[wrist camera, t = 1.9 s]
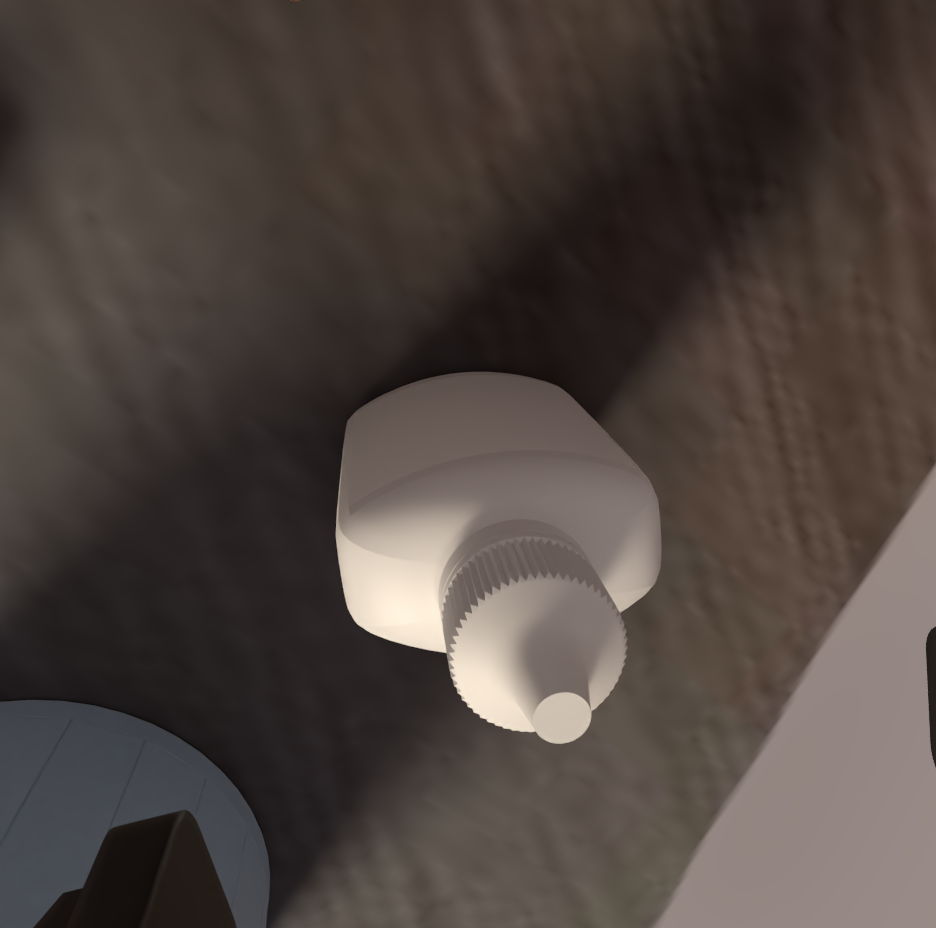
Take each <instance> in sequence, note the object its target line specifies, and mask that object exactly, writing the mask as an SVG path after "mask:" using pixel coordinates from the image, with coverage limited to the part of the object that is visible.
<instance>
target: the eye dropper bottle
mask: <svg viewBox="0 0 936 928" xmlns="http://www.w3.org/2000/svg"><path fill="white" fill-rule="evenodd" d="M336 543H337V552H338V560H339V566H340V573H341V579H342V585H343V590H344V595H345V600H346V604H347V608H348V610H349V612H350V614H351V615H352V617H353V619H354V621H355V622H356V623H357V624H358V625H359V626H361V627H362V628H364V629H365V630H367V631H368V632H370V633H372V634H374V635H377V636H379V637H382V638H385V639H387V640H390V641H394V642H397V643H401V644H404V645H408V646H412V647H416V648H421V649H425V650H431V651H438V652H444V653H447V658H448V664H449V670H450V674H451V678H452V679H453V683H454V686H455V687H456V688H457V693H458V694H460V695H461V697H462V700H463V701H465V702H467V707H470V708H472V709H473V712H474V713H477V714H479V715H480V718H484V719H487V722H491V723H495V726H502V727H503V728H504V729H511V730H512V731H516V730H519V731H520V732H525V731H528V732H535V731H536V732H537V734H538V735H539V736H540V737H541V738H542V739H544V740H546V741H548V742H551V743H558V744H560V743H567V742H571V741H573V740H575V739H577V738H578V737H580V736H581V735H582V734H583V733H584V732H585V731H586V730H587V728H588V726H589V724H590V721H591V711H592V710H594V709H595V708H597V707H598V705H599V704H601V703H602V702H603V701H604V699H605V698H606V697H607V696H608V695H610V691H611V690H612V689H614V688H615V687H614V685H615V684H616V683H617V682H618V680H619V679H618V677H619V676H620V675H621V673H622V670H621V669H622V668H623V666H624V665H625V663H624V660H625V658H626V656H627V655H626V653H625V652H626V650H627V648H628V647H627V645H626V642H627V637H626V635H625V634H626V629H625V627H624V621H623V620H622V618H621V614H620V612H622V611H623V610H625V609H627V608H628V607H629V606H631V605H632V604H633V603H635V602H636V601H637V600H639V599H640V598H642V597H643V596H644V595H645V594H646V593H647V592H648V591H649V590H650V588H651V587H652V586H653V585H654V584H655V582H656V580H657V577H658V574H659V571H660V568H661V525H660V514H659V506H658V499H657V496H656V494H655V491H654V489H653V487H652V485H651V483H650V481H649V479H648V477H647V476H646V475H645V474H644V473H643V472H642V470H641V469H640V468H639V467H638V466H637V465H636V463H635V462H634V461H633V460H632V459H631V458H630V457H629V456H628V455H627V454H626V452H625V451H624V450H623V449H622V448H621V447H620V446H619V445H618V444H617V443H616V442H615V441H614V440H613V439H612V438H611V437H610V436H609V435H608V434H607V433H606V431H605V430H604V429H603V428H602V427H601V426H600V425H599V424H598V423H597V422H596V421H595V420H594V419H593V418H592V417H591V416H590V415H589V414H588V413H587V412H586V411H585V410H584V409H583V408H582V407H581V406H580V405H579V404H578V403H577V402H576V401H575V400H574V399H573V398H572V397H571V396H570V395H569V394H568V393H567V392H566V391H564V390H563V389H562V388H560V387H559V386H557V385H554V384H551V383H549V382H546V381H542V380H538V379H535V378H531V377H526V376H521V375H515V374H508V373H498V372H463V373H453V374H446V375H440V376H436V377H431V378H427V379H424V380H420V381H417V382H414V383H411V384H408V385H405V386H402V387H400V388H397V389H395V390H392V391H390V392H388V393H386V394H384V395H382V396H380V397H378V398H376V399H374V400H372V401H370V402H369V403H367V404H366V405H364V406H363V407H361V408H360V409H358V410H357V411H355V413H354V414H353V415H352V416H351V417H350V419H349V420H348V421H347V425H346V431H345V438H344V446H343V456H342V465H341V474H340V484H339V495H338V505H337V518H336Z"/></svg>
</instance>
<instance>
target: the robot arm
mask: <svg viewBox="0 0 936 928" xmlns="http://www.w3.org/2000/svg"><path fill="white" fill-rule="evenodd" d="M926 654H927V655H926V657H927V677H928V698H929V699H928V700H929V721H930V741H931V751H932V756H933V760H934V763H935V767H936V627H934V628H933V629H931V631H930V632H929V634H928V637H927V642H926ZM33 928H237V926H236V923H235V920H234V917H233V914H232V911H231V909H230V906H229V903H228V901H227V898H226V896H225V893H224V890H223V888H222V885H221V882H220V880H219V877H218V875H217V872H216V869H215V867H214V864H213V862H212V859H211V856H210V854H209V851H208V848H207V846H206V843H205V841H204V838H203V835H202V833H201V830H200V828H199V825H198V823H197V821H196V819H195V817H194V816H193V815H192V814H191V812H189V811H188V810H181V811H177V812H172V813H168V814H164V815H160V816H156V817H152V818H148V819H144V820H140V821H136V822H132V823H128V824H124V825H120V826H116V827H113V828H112V829H110V830H109V831H108V833H107V834H106V836H105V838H104V840H103V842H102V844H101V847H100V849H99V851H98V854H97V856H96V858H95V861H94V863H93V865H92V868H91V870H90V872H89V875H88V877H87V879H86V882H85V884H84V886H83V888H81V889H77V890H73V891H69V892H65V893H62V895H61V896H60V897H59V898H58V899H57V900H56V902H55V903H54V904H53V905H52V906H51V907H50V909H49V910H48V911H47V912H46V913H45V914H44V916H43V917H42V918H41V919H40V920H39V921H38V923H37V924H36V925H35V926H34V927H33Z"/></svg>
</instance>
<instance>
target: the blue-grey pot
mask: <svg viewBox="0 0 936 928" xmlns="http://www.w3.org/2000/svg"><path fill="white" fill-rule="evenodd" d="M181 810H188V811H189V812H191V814H192V815H193V816H194V817H195V819H196V821H197V823H198V825H199V828H200V830H201V833H202V835H203V838H204V841H205V843H206V846H207V848H208V851H209V854H210V856H211V859H212V862H213V864H214V867H215V869H216V872H217V875H218V877H219V880H220V882H221V885H222V888H223V890H224V893H225V896H226V898H227V901H228V903H229V906H230V909H231V911H232V914H233V917H234V920H235V923H236V926H237V928H266V920H267V909H268V902H269V891H270V869H269V860H268V853H267V850H266V846H265V842H264V839H263V835H262V832H261V830H260V828H259V825H258V823H257V821H256V819H255V817H254V814H253V812H252V810H251V809H250V807H249V806H248V804H247V803H246V801H245V799H244V798H243V796H242V795H241V793H240V792H239V790H238V789H237V788H236V787H235V786H234V784H233V783H232V782H231V781H230V780H229V779H228V778H227V776H226V775H225V774H224V773H223V772H222V771H221V770H220V769H219V768H218V767H217V766H216V765H214V764H213V763H212V762H211V761H210V760H209V759H208V758H207V757H205V756H204V755H203V754H202V753H201V752H199V751H198V750H196V749H195V748H193V747H192V746H190V745H189V744H187V743H186V742H184V741H183V740H181V739H180V738H179V737H177V736H175V735H173V734H171V733H169V732H167V731H165V730H163V729H161V728H159V727H157V726H155V725H153V724H151V723H149V722H146V721H143V720H141V719H138V718H136V717H133V716H130V715H128V714H125V713H122V712H118V711H114V710H110V709H106V708H102V707H98V706H95V705H88V704H81V703H74V702H68V701H54V700H19V701H5V702H0V928H33V927H34V926H35V925H36V924H37V923H38V921H39V920H40V919H41V918H42V917H43V916H44V914H45V913H46V912H47V911H48V910H49V909H50V907H51V906H52V905H53V904H54V903H55V902H56V900H57V899H58V898H59V897H60V896H61V895H62V893H65V892H69V891H73V890H77V889H81V888H83V886H84V884H85V882H86V879H87V877H88V875H89V872H90V870H91V868H92V865H93V863H94V861H95V858H96V856H97V854H98V851H99V849H100V847H101V844H102V842H103V840H104V838H105V836H106V834H107V833H108V831H109V830H110V829H112V828H113V827H116V826H120V825H124V824H128V823H132V822H136V821H140V820H144V819H148V818H152V817H156V816H160V815H164V814H168V813H172V812H177V811H181Z"/></svg>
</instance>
